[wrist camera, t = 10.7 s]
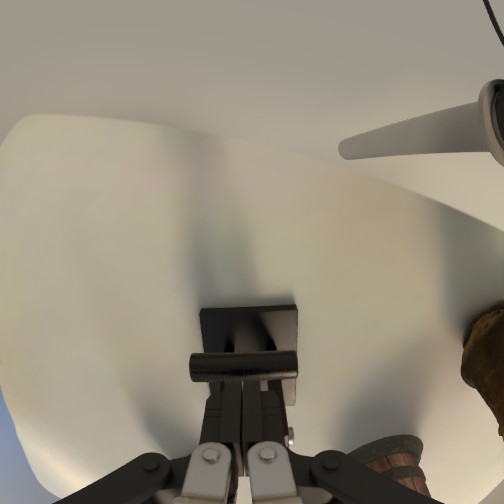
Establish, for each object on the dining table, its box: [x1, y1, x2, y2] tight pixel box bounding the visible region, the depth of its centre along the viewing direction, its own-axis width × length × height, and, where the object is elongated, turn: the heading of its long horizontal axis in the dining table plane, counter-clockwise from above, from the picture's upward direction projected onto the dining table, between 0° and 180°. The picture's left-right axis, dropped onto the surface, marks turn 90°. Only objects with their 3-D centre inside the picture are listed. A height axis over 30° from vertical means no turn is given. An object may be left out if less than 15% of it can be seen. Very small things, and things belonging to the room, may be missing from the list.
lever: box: [189, 350, 298, 385], centre depth 17 cm, size 12×5×2 cm, turn 3°
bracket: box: [199, 305, 298, 449], centre depth 24 cm, size 12×9×13 cm
